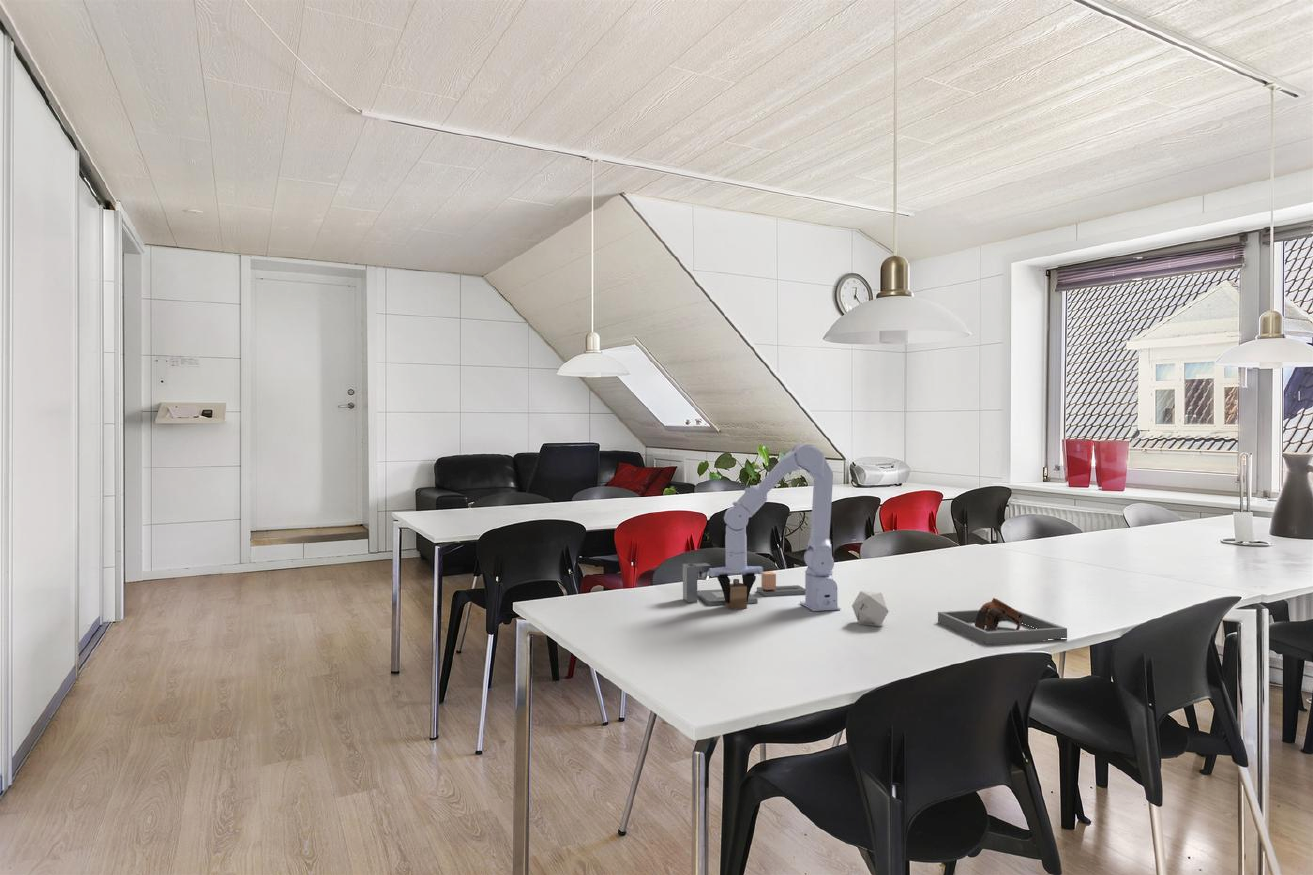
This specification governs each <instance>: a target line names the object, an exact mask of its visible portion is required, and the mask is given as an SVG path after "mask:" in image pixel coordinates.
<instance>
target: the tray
mask: <svg viewBox="0 0 1313 875" xmlns="http://www.w3.org/2000/svg"><path fill="white" fill-rule="evenodd" d="M979 610H980V609H970V610H953V611H952V610H951V611H949V610H948V611H937V622H938V623H939V624H941V625H944V626H946V627H948V628H950V629H952V630H955V631H956V632H958V633H960V634H963V635H965V636H967V637H970V638H972V639H974V640H977V641H978V642H980V643H983V644H985V645H987V646H992V645H1001V644H1002V645H1005V644H1018V643H1032V642H1033V643H1034V641H1037V642H1044V641H1043V640H1048V639H1061V638H1067V639H1068V628H1067V627H1063V626H1062V625H1059V624H1055V623H1053V622H1050V621H1048V620H1045V619H1041V618H1039V617H1037V616H1034V615H1030V614H1028V613H1025V612H1022V611H1019V610H1017V609H1015V610H1016V611H1018V612H1020V613H1021V614H1022V616H1021V618H1020V621H1021V623H1023V624H1022V625H1024V624H1026V625H1029V626H1032V627H1034V628H1037V629H1034V628H1032V629H1019V630H1016V629H1015V630H1002V631H987V630H985V629H984V630H983V629H980V628H978V627H976V626H975V625H974V624H970V623H969V622H976V617H977V615H978V612H979ZM988 611H989V610H988ZM988 611H987V612H988ZM1011 619H1012V618H1010V617H1008V616H1007V615H1005V614H1003V618H1002V619H1001V620H1011ZM1026 625H1025V626H1026ZM1029 626H1028V627H1029Z"/></svg>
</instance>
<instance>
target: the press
mask: <svg viewBox="0 0 1313 875" xmlns="http://www.w3.org/2000/svg"><path fill="white" fill-rule="evenodd" d="M709 568H712V566H711V564H709V563H707V562H701V563H693V562H692V563H682V599H683V601H684V602H685V603H686V604H692V603H698V598H699V599H700V600H702V601H703V603H704V604H706V605H707V606H708V607H711V606H714V607H715V606H726V602H725V598H724V594H723V590H722V588H721V589H705V590H704V589H703V590H699V589H698V580H702V581H707V580H710V575H709ZM758 601H759V599H758V597H756V596H754V595H753V594H751V593H750V594H749V598H748V602H747V605H748V604H758Z"/></svg>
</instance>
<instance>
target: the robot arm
mask: <svg viewBox="0 0 1313 875" xmlns="http://www.w3.org/2000/svg"><path fill="white" fill-rule="evenodd" d="M800 468H801V469H802V470H805V471H806V473H808V475H809V476H810V477H811V478H812V479H813V489H812V490H813V491H812V503H811V504H812V505H811V521H810V522H811V524H810V537H809V540H808V544H807V549H806V551H805V552H804V555H803V562H804V563H805V565H806V566H807V568H806V569H805V571H804V578H805V580H804V581H805V582H804V585H805V587H804V589H805V594H804V595H805V596H804V597H805V600H804V601H803V600H801V601H800V602H799V604H801V605H802V606H804V607H806V608H807V609H809V611H813V612H817V611H818V612H820V611H822V612H823V611H835V610H837V611H838V610H842V607H841V606H839V605H838V585H837V582H836V581H835V579H834V578H833V569H834V566H835V560H834V557H833V555H832V545H831V540H830V535H831V534H830V531H831V530H830V529H831V519H832V518H831V516H832V498H833V496H832V495H833V482H834V473H833V470H832V469H831V466H830V465H829V463H828V461H827V459H826V458H825V455H824V452H822V450H820V449H819V448H818V447H817V446H815V445H813V444H807V443H806V444H805V443H798V444H796V445H795V446H793V447H792V449H791V451H789V450H788V452H786V454H784V456H783V457H782V458H780V459H779V460H778V462H777V463H776V464H775V466H774V467H772V469H771V470H770V471H769V472H768V473H767V474H766V476H765V477H764V478H763V479H762V480H761V482H760V483H759V484H758V485H754V484H753V485H751V486H750V487H745V489H743V491H744V493H743V494H742V495H741V496H740V498H738V500H737V501H733V502H732V505H733V506H731V507H729V508H728V509H727V510H726V511H725V513H724V516H723V522H724V523H725V524H726V525H725V536H724V537H725V538H724V539H725V540H724V541H725V543H724V544H725V547H724V548H725V566H721V567H714V568H712V567H711V568H709V577H712V578H715V577H716V578H717V580H718V582H719V584H720V587H721V589H722V590H723V594H724V598H725V602H726V603H729V602H730V595H729V588H730V584H731V579H730V578H729V576H741V578H742V584H744V585H745V586H747V602H748V598H749V594H751V590H752V588H753V585H754V583H755V582H756V579H757V577H756V575H760V576H761V574H763V572H764V567H763V566H760V565H757V566H756V565H755V566H754V565H752V566H751V565H748V562H747V561H748V556H747V554H748V551H747V549H748V548H747V547H748V546H747V540H748V539H747V526H748V524H749V518H752V517H753V516H754V515H755V514H756V512H758V511H759V510H760V508H762V506H763V505H765V503H766V502H767V501H768V494H769V492H770V491H771V490H772V489H773V488H774V487H776V485H777V484H778V483H780V481H782V480H783V478H785V476H786V475H787V474H789V473H791V472H795V471H796V472H797V471H799V470H801V469H800Z"/></svg>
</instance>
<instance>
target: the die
mask: <svg viewBox="0 0 1313 875" xmlns="http://www.w3.org/2000/svg"><path fill="white" fill-rule="evenodd" d="M851 607H852V609H853V613H854V615H855V618H856V620H857V623H858V626H860V625H861V626H872V627H881V626H882V625H883V622H884V621H885V619H886V617H887V615H888V614H889V608H888V606H887V604H886V600H885V598H884V595H883V593H882V592H877V591H865V590H864V591H863V590H861V591H859V593H858V595H857V596H856V597H855V599H854V602H853V603H852V605H851Z"/></svg>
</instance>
